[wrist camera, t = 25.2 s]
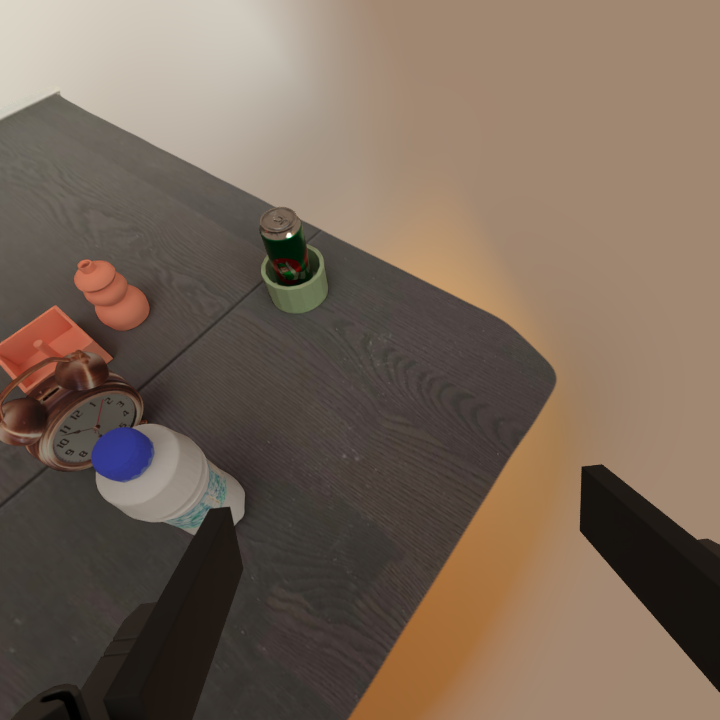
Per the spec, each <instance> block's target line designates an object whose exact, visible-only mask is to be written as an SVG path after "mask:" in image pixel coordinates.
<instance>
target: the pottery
mask: <svg viewBox="0 0 720 720" xmlns="http://www.w3.org/2000/svg"><path fill="white" fill-rule="evenodd" d="M77 267H78V268H79V269H78V271H77V272H76V274H75V277H74V282H75V284H76V286H77V288H78V289H79V290H81V291H83V293H84V295H85V297H86V299H87V300H88V301H89V302H91V303H92V304H94V305H95V311H96V314H97V316H98V318H99V319H100V320H101V321H102V322H103V323H104V324H105V325H107V326H109V327H111V328H113V329H115V330H118V331H125V330H130V329H132V328H135V327H137V326H138V325H140V324H141V323H142V322H143V321H144V320H145V319H146V318H147V316H148V314H149V311H150V307H149V304H148V301H147V298H146V296H145V295H144V294H143V292H142V291H140V290H139V289H138V288H136V287H134V286H132V285H128V284H127V281H126V280H125V278H124V277H123V276H122V275H121V274H119V273H118V272H115V268H114V266H112V265H111V264H110V263H108V262H106V261H92V262H91V260H88V259H86V260H82V261H81V262H79V264H78V266H77ZM76 350H81V351H87V352H92V353H95V354H97V355H99V356H101V357H102V358H103V359H104V361H105V362H106V364H107V363H108V362H110V361H111V360H112V359H113V358H112V357H111V356H110V355H109V354H108V353H107V352H106V351H105V350H104V349H103V348H102V347H101V346H100V345H98V344H97V343H96V342H95V341H94V340H93V339H92V338H91V337H90V336H89V335H88V334H87V333H86V332H85V331H84V330H82V329H81V328H80V327H79V326H78V325H77V324H76V323H75V322H74V321H73V320H72V319H70V318H69V317H68V316H67V315H66V314H65V313H64V312H63V311H62V310H60V309H59V308H58V307H57V306H56V305H55V306H53V307H52V308H50V309H49V310H48V311H46V312H45V313H43V314H42V315H40V316H39V317H37V318H36V319H35V320H33V321H32V322H30V323H29V324H27V325H26V326H24V327H23V328H22V329H20V330H19V331H17V332H16V333H14V334H13V335H11V336H10V337H9V338H7V339H6V340H4V341H3V342H1V343H0V365H1V366H2V367H3V368H4V370H5V371H6V372H7V373H8V374H9V375H10V377H11V378H12V379H13V380H14V379H16V378H17V377H18V376H19V375H20V374H22V373H23V372H24V371H26V370H27V369H29V368H30V367H32V366H34V365H35V364H37V363H39V362H41V361H43V360H44V359H46V358H50V357H61V358H63V357H64V356H66V355H68V354H70V353H73V352H75V351H76ZM57 363H58V362H52V363H49V364H47V365H45V366H43V367H42V368H40V369H38V370H36V371H35V372H33V373H32V374H31V375H29V376H28V377H27V378H25V379H24V380H23V381H22V382H21V383H19V384H18V386H19V387H20V388H21V389H22V391H23V392H24V393H25V394H27V395H29V394H30V393H31V391H32V390H33V389H35V388H36V387H37V386H38V385H39V384H40V383H42V382H43V381H45V380H46V379H48V378H49V377H51V376H53V375H55V368H56V365H57Z"/></svg>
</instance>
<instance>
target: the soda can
mask: <svg viewBox="0 0 720 720" xmlns="http://www.w3.org/2000/svg"><path fill="white" fill-rule="evenodd" d="M260 224H261V225H260V228H259V230H260V234H261V237H262V240H263V243H264V246H265V249H266V252H267V255H268V257H269V260H270V263H271V266H272V269H273V272H274V275H275V278H276V281H277V284H278V285H281V286H286V287H290V286H298V285H301V284H303V283H305V282H308V281H309V280H310V279H312V278H313V272H312V268H311V263H310V259H309V254H308V250H307V245H306V241H305V236H304V232H303V228H302V223H301V220H300V219H299V217H298V216H297V215H296V213H295V212H294V211H293V210H291V209H289V208H286V207H277V208H273V209H270V210H268V211H267V212H265V213H264V214H263V215H262V217H261V220H260Z"/></svg>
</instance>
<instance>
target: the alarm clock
mask: <svg viewBox="0 0 720 720" xmlns="http://www.w3.org/2000/svg"><path fill="white" fill-rule="evenodd" d="M52 362H58V363H57V365H56V368H55V375H53V376H51V377H49V378H48V379H46V380H45V381H43V382H42V383H40V384H39V385H38V386H37V387H36V388H35V389H33V390H32V391H31V393H30V394H29V395H28V396H27V397H26V398H20V399H14V400H12V401H9V402H6V403H5V404H3V405H2V403H3V400H4V399H5V398H6V397H7V395H8V394H9V393H10V392H11V391H12V390H13V389H14V388H15V387H16V386H17V385H18V384H19V383H21V382H22V381H23V380H24V379H25V378H27V377H28V376H29V375H31V374H32V373H33V372H35V371H36V370H38V369H40V368H42V367H43V366H45V365H47V364H49V363H52ZM142 414H143V401H142V398H141V396H140V395H139V393H138V392H137V391H136V390H135V389H134V388H133V387H132V386H131V385H130V384H129V383H128V382H127V381H126V380H125V379H123V378H122V377H121V376H119V375H117V374H115V373H113V372H112V371H110V370H109V369H108V367H107V364H106V362H105V361H104V359H103V358H102V357H101V356H99V355H97V354H95V353H92V352H87V351H81V350H76V351H75V352H73V353H70V354H68V355H66V356H64V357H63V358H61V357H50V358H46V359H44V360H43V361H41V362H39V363H37V364H35V365H34V366H32V367H30V368H29V369H27V370H26V371H24V372H23V373H22V374H20V375H19V376H18V377H17V378H16V379H14V380H13V381H12V382H11V383H10V384H9V385H8V386H7V387H6V388H5V389H4V390H3V391H2V392H1V393H0V440H1V441H2V442H4V443H6V444H9V445H15V446H25V447H26V449H27V450H28V451H29V452H30V453H31V454H32V455H33V456H34V457H35V458H37V459H38V460H39V461H41V462H42V463H44V464H45V465H47V466H48V467H50V468H52V469H54V470H57V471H63V472H71V471H78V470H82V469H86V468H89V467H91V466H93V465H92V462H91V456H92V450H93V447H94V446H95V444H96V442H97V441H98V440H99V439H100V438H101V437H102V436H103V435H104V434H105V433H107V432H109V431H111V430H113V429H116V428H120V427H129V428H132V427H135V426H138V425H139V424H146V423H147V420H144V421H143V420H141V418H142Z"/></svg>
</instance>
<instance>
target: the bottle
mask: <svg viewBox="0 0 720 720" xmlns="http://www.w3.org/2000/svg"><path fill="white" fill-rule="evenodd" d="M91 462H92V465H93V467H94V469H95V470H96V483H97V488H98V490H99V492H100V493H101V495H102V496H103V498H104V499H106V500H107V501H108V502H110V503H111V504H113V505H114V506H116V507H117V508H119V509H120V510H122V511H123V512H124V513H125V514H127V515H128V516H130V517H132V518H134V519H138V520H144V521H148V522H165V523H168V524H171V525H174V526H177V527H179V528H182V529H183V530H185V531H187V532H189V533H191V534H192V535H195V534H196V532H197V530H198V529H199V527H200V525H201V523H202V521H203V520H204V518H205V516H206V514H207V512H208V511H209V509H211V508H220V507H229V506H230V508H231V513H232V517H233V522H234V526H235V524H236V523H237V522H238V521H239V520H240V519H242V517H243V515H244V512H245V510H244V502H245V492H244V490H243V488H242V486H241V485H240V484H239V482H238V481H237V480H236V479H235V478H233V477H232V476H231V475H229V474H228V473H226V472H224V471H222V470H220V469H219V468H218V467H216V466H215V465H214V464H213V463H211V462H210V461H209V460H208V459H206V458H205V455H204V453H203V452H202V450H201V449H200V448H199V447H198V446H197V445H196V444H195V442H193V441H192V440H191V439H190V438H189V437H187V436H185V435H183V434H179V433H177V432H175V431H173V430H171V429H169V428H167V427H164V426H162V425H157V424H143V425H138V426H135V427H132V428H129V427H120V428H116V429H113V430H111V431H109V432H107V433H105V434H104V435H103V436H102V437H101V438H100V439H99V440H98V441H97V442H96V444H95V446H94V447H93V450H92V456H91Z"/></svg>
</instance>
